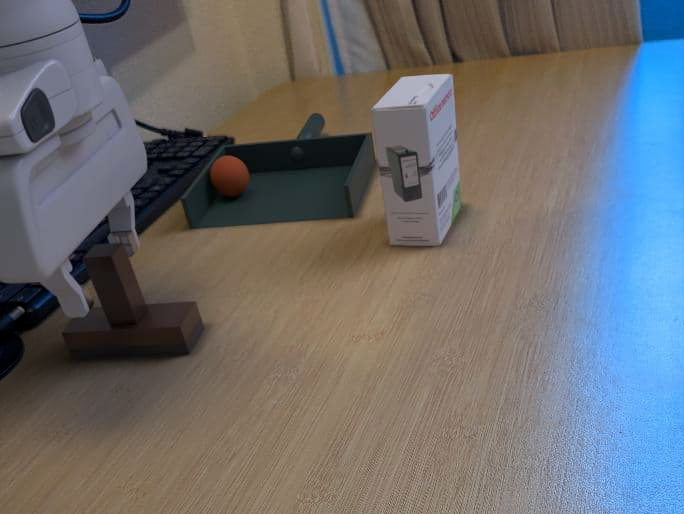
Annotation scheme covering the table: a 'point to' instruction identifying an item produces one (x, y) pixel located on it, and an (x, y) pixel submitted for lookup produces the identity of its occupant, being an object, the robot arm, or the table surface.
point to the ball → (229, 176)
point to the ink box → (418, 158)
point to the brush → (128, 315)
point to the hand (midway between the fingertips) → (106, 281)
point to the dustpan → (287, 180)
